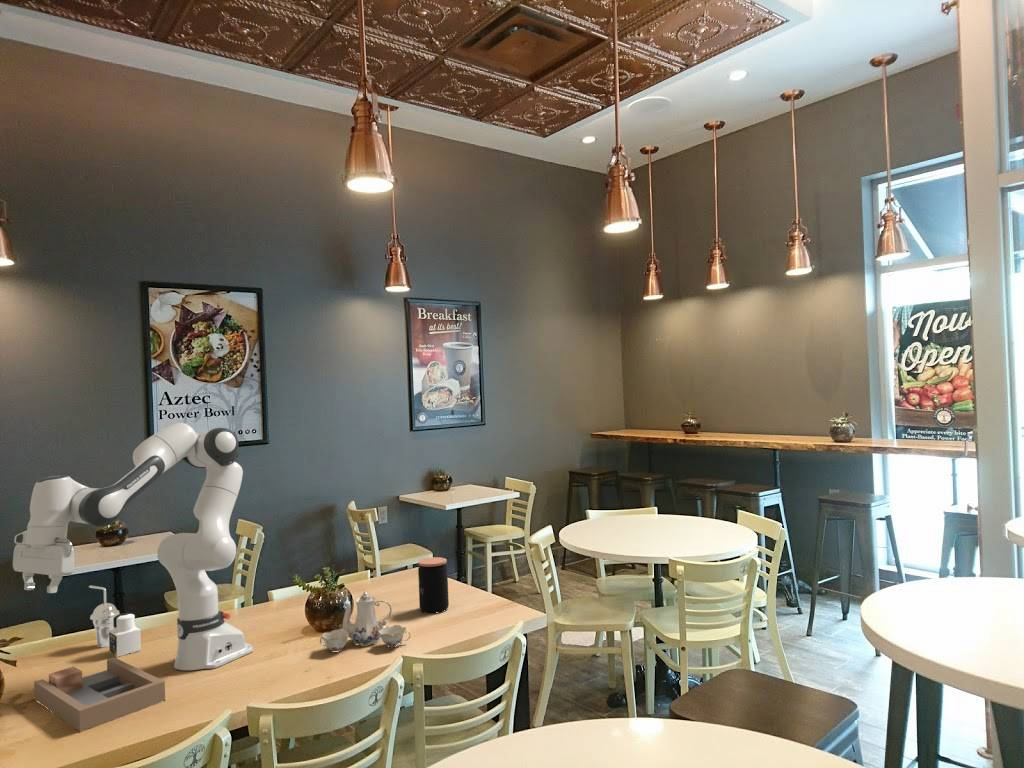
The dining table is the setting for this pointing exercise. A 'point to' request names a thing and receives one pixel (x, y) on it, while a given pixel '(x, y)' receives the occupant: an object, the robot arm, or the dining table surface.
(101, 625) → the cup with straw
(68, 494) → the robot arm
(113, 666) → the box
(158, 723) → the dining table surface
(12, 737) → the dining table surface
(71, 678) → the terracotta block
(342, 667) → the dining table surface
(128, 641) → the medicine bottle
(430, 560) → the coffee jar
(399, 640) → the chinaware
